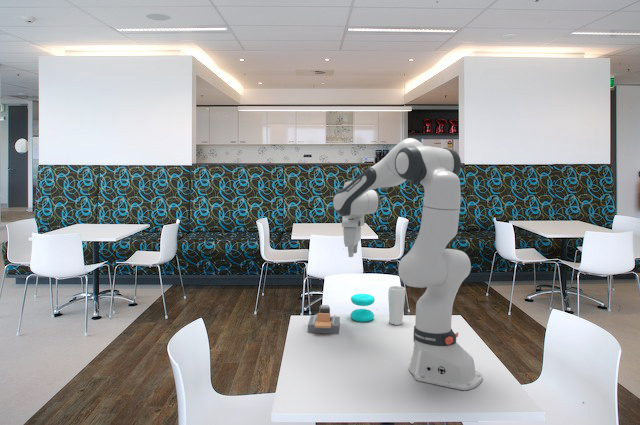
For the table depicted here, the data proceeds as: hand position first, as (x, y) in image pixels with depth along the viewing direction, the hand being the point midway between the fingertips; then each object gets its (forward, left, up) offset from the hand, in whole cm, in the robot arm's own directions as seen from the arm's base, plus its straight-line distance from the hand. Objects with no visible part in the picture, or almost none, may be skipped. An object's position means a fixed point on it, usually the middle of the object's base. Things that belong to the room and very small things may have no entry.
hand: (352, 254), depth 201 cm
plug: (+7, +9, -29) cm, 31 cm away
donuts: (+1, -10, -29) cm, 31 cm away
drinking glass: (-13, -14, -29) cm, 35 cm away
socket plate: (+6, +10, -29) cm, 31 cm away
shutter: (+3, +15, -26) cm, 30 cm away
